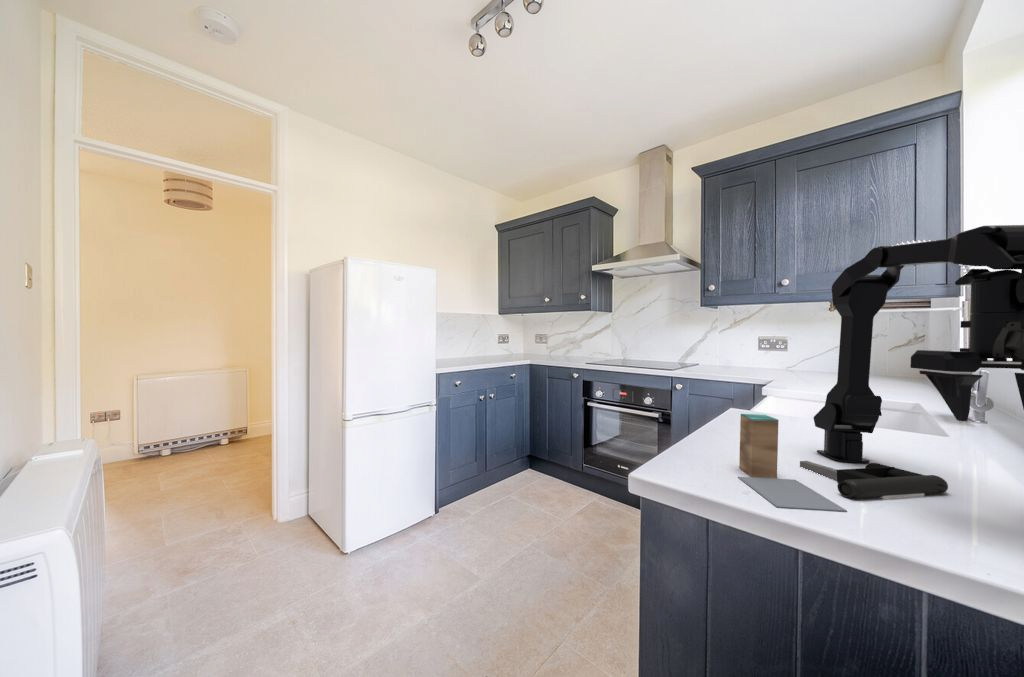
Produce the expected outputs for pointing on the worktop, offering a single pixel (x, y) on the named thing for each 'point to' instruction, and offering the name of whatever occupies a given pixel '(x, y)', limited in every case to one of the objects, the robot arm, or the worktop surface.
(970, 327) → the robot arm
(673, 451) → the worktop surface
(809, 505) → the mat
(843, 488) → the door handle
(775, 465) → the walnut block
